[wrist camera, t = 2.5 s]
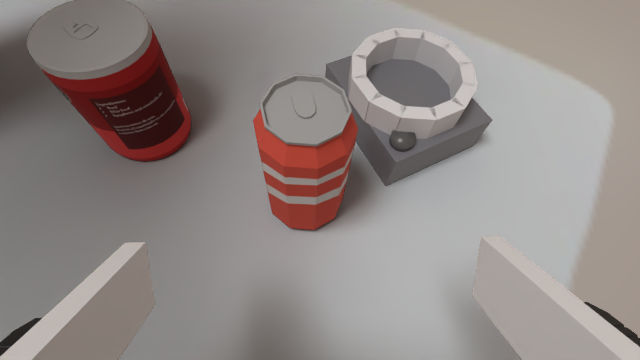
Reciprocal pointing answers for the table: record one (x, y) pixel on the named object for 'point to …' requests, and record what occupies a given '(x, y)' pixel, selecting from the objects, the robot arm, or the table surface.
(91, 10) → the canned food
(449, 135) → the mount
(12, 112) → the table surface
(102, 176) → the table surface
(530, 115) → the table surface
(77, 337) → the robot arm
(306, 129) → the beverage can
